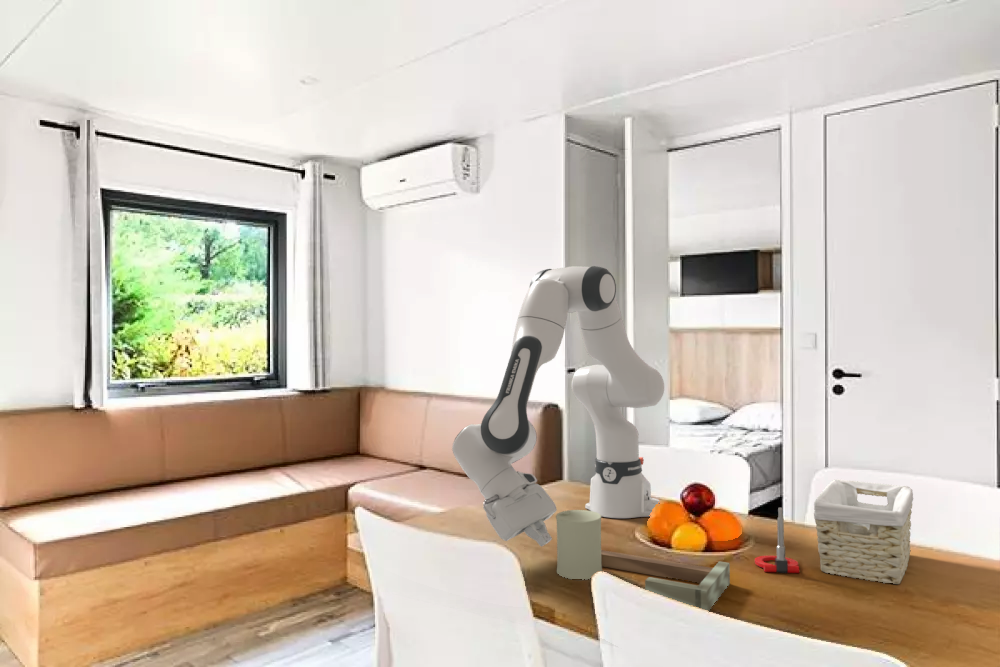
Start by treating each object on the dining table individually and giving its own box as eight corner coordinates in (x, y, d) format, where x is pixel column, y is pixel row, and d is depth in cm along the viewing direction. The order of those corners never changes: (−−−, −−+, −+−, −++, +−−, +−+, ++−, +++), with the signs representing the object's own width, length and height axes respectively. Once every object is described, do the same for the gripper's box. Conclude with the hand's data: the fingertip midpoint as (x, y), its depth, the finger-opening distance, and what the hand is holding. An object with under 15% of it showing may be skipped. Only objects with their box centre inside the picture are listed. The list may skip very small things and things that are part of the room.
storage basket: (904, 590, 133) (903, 511, 133) (811, 574, 142) (810, 500, 142) (915, 554, 153) (914, 485, 152) (832, 542, 162) (832, 477, 162)
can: (563, 562, 151) (562, 506, 151) (606, 567, 148) (605, 509, 148) (551, 577, 142) (550, 517, 142) (597, 582, 139) (596, 521, 139)
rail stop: (586, 559, 153) (585, 540, 153) (729, 583, 137) (729, 562, 137) (551, 584, 139) (550, 563, 139) (706, 614, 123) (706, 591, 123)
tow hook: (751, 560, 152) (760, 573, 143) (750, 498, 153) (759, 508, 143) (792, 561, 151) (804, 575, 142) (791, 500, 151) (803, 509, 142)
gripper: (488, 492, 144) (532, 547, 139) (536, 472, 161) (577, 521, 156) (470, 511, 146) (512, 566, 141) (519, 490, 164) (559, 539, 159)
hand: (547, 542), depth 149 cm, fingers closed
